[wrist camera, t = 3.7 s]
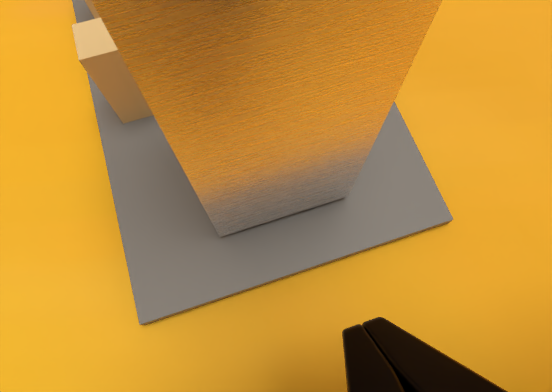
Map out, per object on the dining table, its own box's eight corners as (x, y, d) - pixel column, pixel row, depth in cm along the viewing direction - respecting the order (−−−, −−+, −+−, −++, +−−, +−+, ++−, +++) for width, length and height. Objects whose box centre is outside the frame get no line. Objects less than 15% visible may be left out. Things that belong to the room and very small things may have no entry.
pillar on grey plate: (348, 196, 15) (797, -741, 2) (215, 238, 15) (-307, -654, 2) (303, 88, 17) (394, -820, 4) (182, 122, 16) (-213, -792, 3)
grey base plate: (448, 222, 16) (510, 178, 12) (143, 325, 15) (89, 317, 10) (299, -78, 21) (304, -182, 17) (70, -23, 20) (15, -119, 16)
